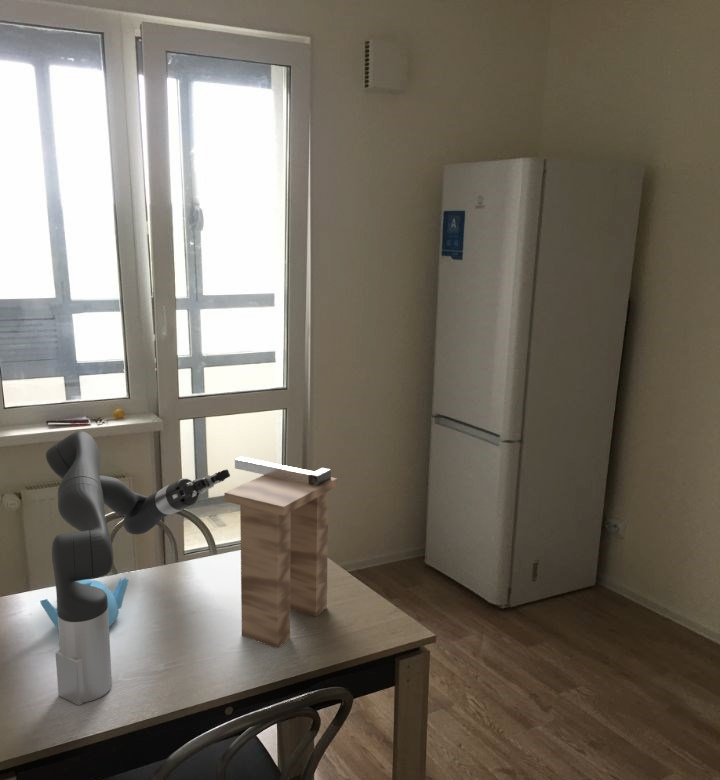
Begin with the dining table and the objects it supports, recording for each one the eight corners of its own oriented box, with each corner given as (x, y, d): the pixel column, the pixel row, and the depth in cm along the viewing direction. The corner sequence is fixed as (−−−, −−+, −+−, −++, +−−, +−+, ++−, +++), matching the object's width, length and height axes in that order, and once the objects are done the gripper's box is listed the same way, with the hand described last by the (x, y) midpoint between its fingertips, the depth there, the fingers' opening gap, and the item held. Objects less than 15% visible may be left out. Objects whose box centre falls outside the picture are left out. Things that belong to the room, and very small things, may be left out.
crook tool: (317, 486, 162) (317, 476, 162) (234, 468, 174) (234, 459, 173) (330, 479, 168) (330, 469, 167) (249, 462, 179) (249, 453, 178)
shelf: (283, 651, 156) (283, 506, 149) (226, 631, 164) (224, 492, 157) (334, 609, 175) (337, 478, 168) (281, 592, 183) (281, 466, 176)
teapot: (134, 610, 172) (132, 569, 170) (103, 643, 158) (101, 599, 156) (75, 604, 174) (72, 564, 172) (40, 637, 160) (36, 593, 158)
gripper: (151, 491, 181) (191, 471, 173) (189, 476, 193) (229, 456, 185) (162, 518, 181) (204, 499, 172) (200, 501, 193) (241, 482, 185)
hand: (217, 477), depth 179 cm, fingers open, 8 cm apart
